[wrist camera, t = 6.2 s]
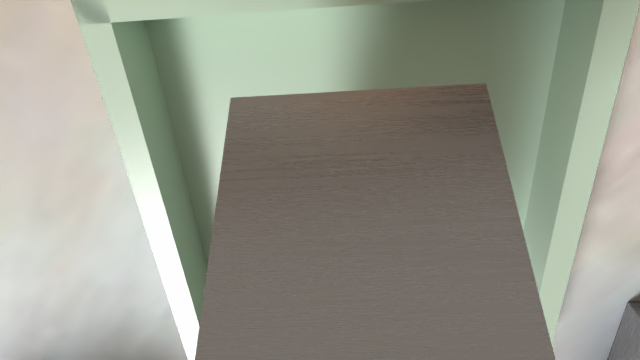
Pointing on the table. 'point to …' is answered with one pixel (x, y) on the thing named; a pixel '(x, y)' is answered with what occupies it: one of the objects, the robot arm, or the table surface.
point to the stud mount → (628, 335)
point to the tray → (350, 75)
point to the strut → (368, 232)
